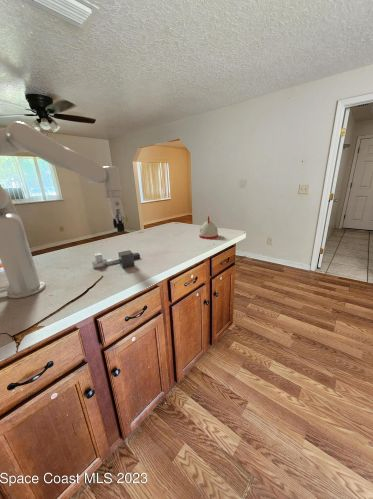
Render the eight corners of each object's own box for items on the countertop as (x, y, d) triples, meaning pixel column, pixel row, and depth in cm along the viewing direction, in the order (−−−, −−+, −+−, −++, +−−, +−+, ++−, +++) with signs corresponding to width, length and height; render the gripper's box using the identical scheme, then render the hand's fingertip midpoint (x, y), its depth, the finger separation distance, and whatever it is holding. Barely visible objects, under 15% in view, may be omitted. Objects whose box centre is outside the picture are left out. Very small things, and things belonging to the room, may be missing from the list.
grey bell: (217, 234, 160) (218, 215, 155) (218, 239, 147) (218, 218, 142) (200, 234, 162) (199, 215, 157) (198, 239, 149) (198, 218, 144)
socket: (123, 268, 102) (121, 255, 100) (120, 264, 107) (118, 252, 105) (134, 266, 105) (133, 253, 103) (131, 262, 110) (129, 250, 108)
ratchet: (94, 269, 103) (91, 257, 101) (92, 265, 108) (89, 253, 106) (141, 259, 114) (139, 248, 112) (137, 255, 120) (136, 245, 118)
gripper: (125, 194, 92) (130, 231, 97) (118, 193, 106) (123, 225, 112) (108, 195, 89) (114, 234, 94) (103, 194, 103) (108, 227, 109)
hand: (119, 229), depth 103 cm, fingers open, 9 cm apart
